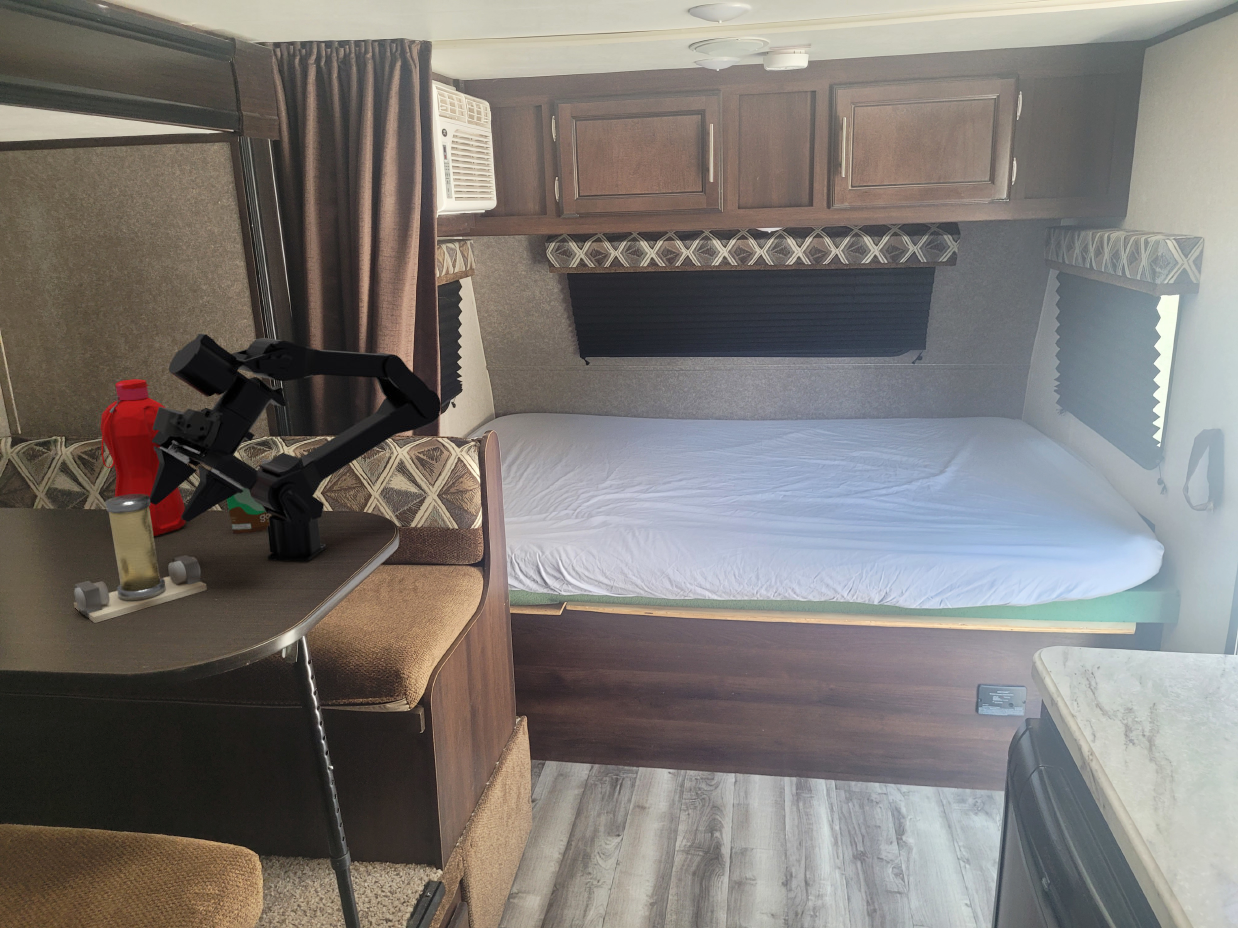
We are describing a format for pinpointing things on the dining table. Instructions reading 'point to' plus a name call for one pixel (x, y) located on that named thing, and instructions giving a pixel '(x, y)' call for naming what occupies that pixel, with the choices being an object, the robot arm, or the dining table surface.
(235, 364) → the robot arm
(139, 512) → the metal capped yellow cylinder
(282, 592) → the dining table surface
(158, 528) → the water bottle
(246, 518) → the food container
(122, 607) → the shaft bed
